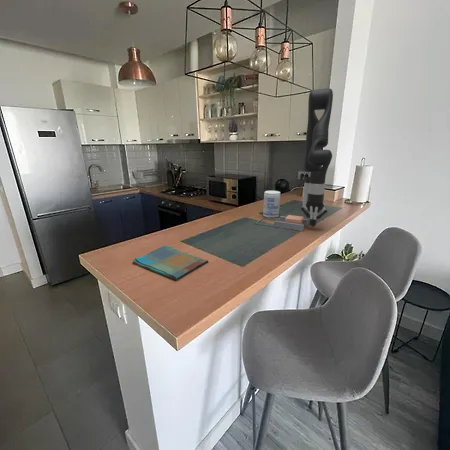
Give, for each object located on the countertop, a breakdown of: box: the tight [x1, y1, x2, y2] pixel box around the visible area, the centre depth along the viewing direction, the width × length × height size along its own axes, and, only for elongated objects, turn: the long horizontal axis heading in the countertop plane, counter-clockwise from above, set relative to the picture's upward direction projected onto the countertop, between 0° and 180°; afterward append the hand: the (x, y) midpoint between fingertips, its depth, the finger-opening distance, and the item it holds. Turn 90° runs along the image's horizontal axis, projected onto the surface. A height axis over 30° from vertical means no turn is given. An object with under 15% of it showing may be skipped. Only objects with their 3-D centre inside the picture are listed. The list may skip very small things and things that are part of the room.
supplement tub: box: [262, 190, 281, 219], centre depth 148 cm, size 10×10×15 cm
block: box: [285, 214, 305, 224], centre depth 131 cm, size 7×8×5 cm
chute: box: [273, 215, 309, 232], centre depth 132 cm, size 11×15×3 cm
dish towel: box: [132, 245, 209, 282], centre depth 93 cm, size 17×23×2 cm
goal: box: [255, 217, 280, 227], centre depth 138 cm, size 12×10×1 cm
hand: (312, 225), depth 127 cm, fingers closed
